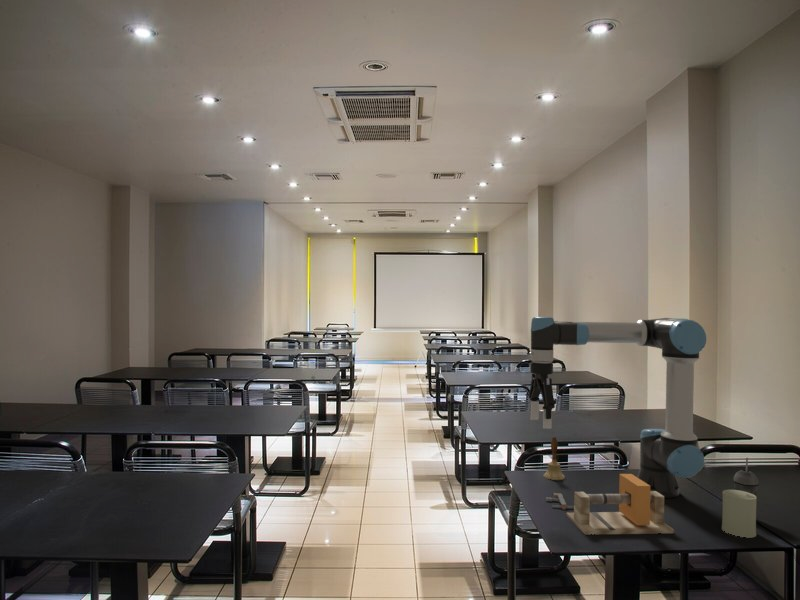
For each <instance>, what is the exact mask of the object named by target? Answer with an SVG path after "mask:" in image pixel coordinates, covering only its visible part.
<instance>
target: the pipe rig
mask: <svg viewBox="0 0 800 600" xmlns="http://www.w3.org/2000/svg"><path fill="white" fill-rule="evenodd" d="M573 496H574V497H573V506H574V509H573V512H566V514H565V515H566V517H567V518H568V519H569V520H570V521H571V522H572V523H573V524H574V525H575V526H576V527H577V528H578V529H579V531H581V532H582V533H583V534H584V535H591V534H592V535H594V534H595V535H644V534H645V535H646V534H649V535H651V534H654V535H655V534H658V533H661V534H675V529H673V527H671V526H669V525H668V524H667V523H665V498H664V496H663V495H661V494H660V493H658V492H657V491H650V525H636V524H635V523H634V522H632V521H631V520H630V519H629V518H627V517H626V516H625V515H624V514H622V513H621V512H620V511H601V512H599V511H598V512H597V511H593V512H591V510H590V508H591V505H619V504H631V494H619V493H586V492H585V491H574V494H573ZM595 535H594V536H595Z"/></svg>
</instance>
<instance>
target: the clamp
mask: <svg viewBox="0 0 800 600" xmlns="http://www.w3.org/2000/svg"><path fill="white" fill-rule="evenodd" d="M545 501H546V502H550V503H551V502H558V503H560V505H559V504H555V505H553V504H552V505H551V507H552V508H557V509H561V510H566V509H571V510H572V509H573V510H574V505H567V503H566V499H565V498H564V495H563V494H562V493H559V492H553V493H552V497H548V496H546V497H545Z"/></svg>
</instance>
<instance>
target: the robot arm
mask: <svg viewBox="0 0 800 600" xmlns="http://www.w3.org/2000/svg"><path fill="white" fill-rule="evenodd" d="M530 324H531V325H530V351H529V355H530V360H531V362H530V369H529V372H530V373H531V381H530V387H529V391H528V398H529V400H530V421H540V420H539V418H540V417H539V415H540V414H539V413H540V411H539V410H540V401H541V399H540V394H541V398H542V402H543V406H542V407H541V408H542V429H550V430H551V429H553V428H552V427H553V426H552V424H553V416H552V415H553V409H555V407H556V406H555V399H554V392H553V390H554V389H553V385H552V383H553V381H552V378H549V375H552V374H553V373H554V363H553V361H554V346H555V345H564V346H565V345H566V346H583V345H584V346H585V345H586V344H587V343H603V344H605V343H609V344H610V343H611V344H636V345H637V346H638V347H639V346H640V347H651V348H656V349H660V350H661V358H663V359H664V360H665V361H666V373H665V374H666V378H665V379H666V380H665V381H666V383H665V422H664V423H665V427H664V428H665V429H664V428H645V429H642V430H641V432H640V437H639V440H640V445H639V446H640V449H639V453H640V454H639V457H640V459H639V470H638V472H637V475H636V477H637V478H639V479H640V480H642V481H643V482H645V483H647V484H648V485H650V491H657V492H658V493H660V494H661V495H663V496H664V499H669V498H670V499H671V498H676V497H678V496H680V486H679V483H678V479H677V477H680V478H685V479H687V478H688V479H689V478H692V477H694V476H696V475H697V474H698V473H699V472H701V471H702V469H703V467H704V463H705V457H704V453H703V452H702V450H701V449H700V448H699V447H698V436H697V435H696V434H695V433H694V382H695V381H694V380H695V367H694V366H695V363H696V362H697V361H698V360H699V359H700V352H701V351H702V350H703V349H704V348H705V347H706V344H707V334H706V331H705V329H704V327H703V326H702V325H701V324H700V323H698V322H697V321H696V320H693V319H689V318H676V317H675V318H674V317H664V318H663V317H662V318H655V319H638V320H637V321H635V322H627V321H626V322H621V321H620V322H615V321H614V322H613V321H609V322H607V321H558V320H554V317H552V316H534V317H532V319H531V323H530Z"/></svg>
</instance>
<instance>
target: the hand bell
mask: <svg viewBox="0 0 800 600" xmlns="http://www.w3.org/2000/svg"><path fill="white" fill-rule="evenodd" d="M550 448H551V461H550V462H548V465H547V470H546V472H545V473H543V477H544V478H545V479H547V480H550V479H551V480H550V481H552V480H553V481H562V480H565V479H566V477H565V475H564V474H563V472H562V469H561V463H559V462H558V461H557V452H558V441H557V436H552V438H551V442H550Z"/></svg>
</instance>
